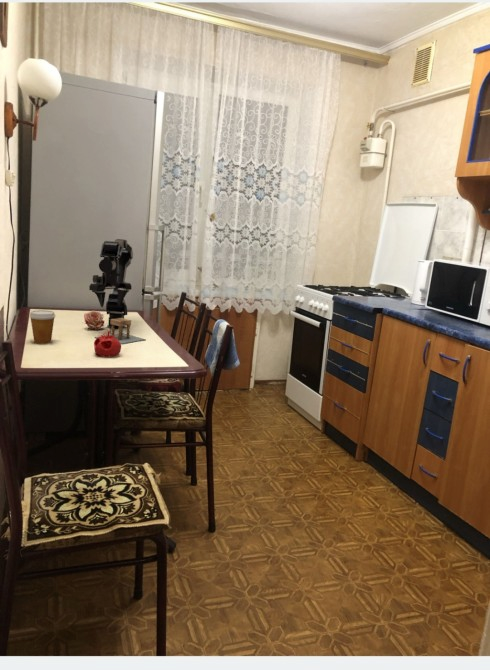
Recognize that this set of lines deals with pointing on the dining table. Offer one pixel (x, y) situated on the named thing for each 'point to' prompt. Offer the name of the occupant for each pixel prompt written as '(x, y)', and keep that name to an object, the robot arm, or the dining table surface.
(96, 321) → the flower
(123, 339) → the mat
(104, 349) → the pomegranate
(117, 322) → the stool
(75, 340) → the dining table surface
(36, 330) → the disposable coffee cup
